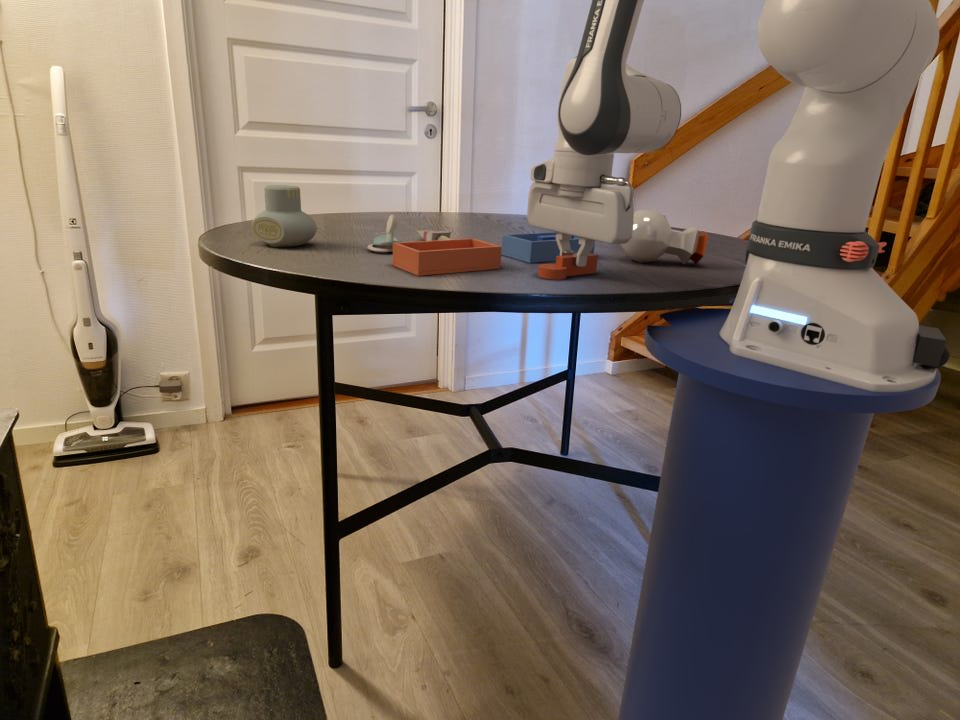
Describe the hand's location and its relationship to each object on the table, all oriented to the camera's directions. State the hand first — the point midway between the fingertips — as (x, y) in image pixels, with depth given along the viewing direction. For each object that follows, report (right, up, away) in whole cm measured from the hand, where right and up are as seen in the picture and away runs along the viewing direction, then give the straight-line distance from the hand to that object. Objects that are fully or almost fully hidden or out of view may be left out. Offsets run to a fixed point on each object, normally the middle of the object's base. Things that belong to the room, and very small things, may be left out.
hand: (572, 263), depth 97 cm
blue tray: (-2, +4, +15) cm, 16 cm away
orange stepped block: (-1, -2, 0) cm, 2 cm away
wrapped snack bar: (-22, +6, +18) cm, 29 cm away
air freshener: (-49, +5, +12) cm, 51 cm away
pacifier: (-32, +4, +11) cm, 34 cm away
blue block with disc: (-2, +4, +15) cm, 16 cm away
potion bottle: (+18, +2, +15) cm, 23 cm away
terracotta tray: (-20, 0, +1) cm, 20 cm away
